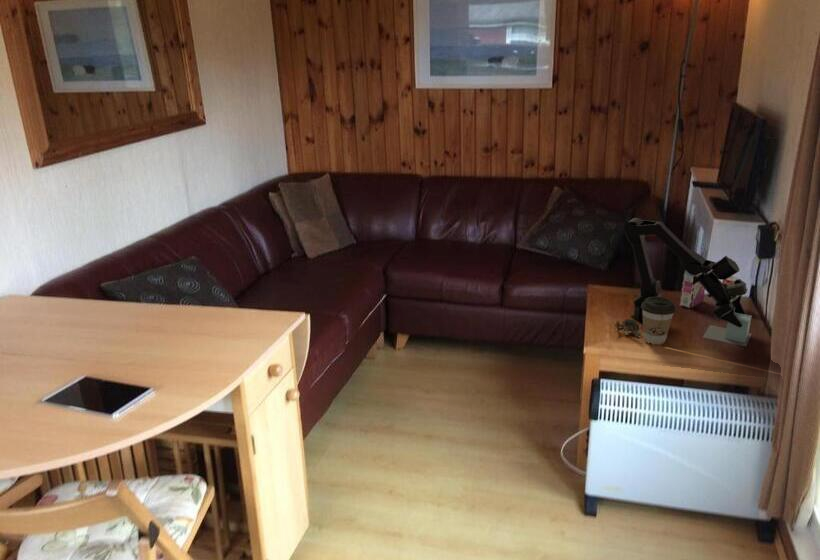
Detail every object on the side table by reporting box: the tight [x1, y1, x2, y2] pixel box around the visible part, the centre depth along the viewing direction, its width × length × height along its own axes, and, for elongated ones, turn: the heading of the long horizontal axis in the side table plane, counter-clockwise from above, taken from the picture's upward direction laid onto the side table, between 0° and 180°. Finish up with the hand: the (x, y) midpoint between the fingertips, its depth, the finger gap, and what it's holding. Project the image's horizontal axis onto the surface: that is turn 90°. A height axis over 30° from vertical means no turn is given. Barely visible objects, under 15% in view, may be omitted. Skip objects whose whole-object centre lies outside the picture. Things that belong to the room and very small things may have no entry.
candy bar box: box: [679, 268, 706, 309], centre depth 257 cm, size 11×5×16 cm, turn 133°
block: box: [725, 312, 753, 343], centre depth 227 cm, size 6×6×8 cm
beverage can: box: [721, 275, 739, 297], centre depth 254 cm, size 6×6×12 cm
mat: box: [702, 324, 752, 347], centre depth 230 cm, size 14×12×3 cm
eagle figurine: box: [613, 317, 642, 338], centre depth 234 cm, size 8×7×9 cm
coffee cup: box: [641, 296, 676, 345], centre depth 227 cm, size 11×11×15 cm
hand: (743, 322), depth 226 cm, fingers open, 9 cm apart
